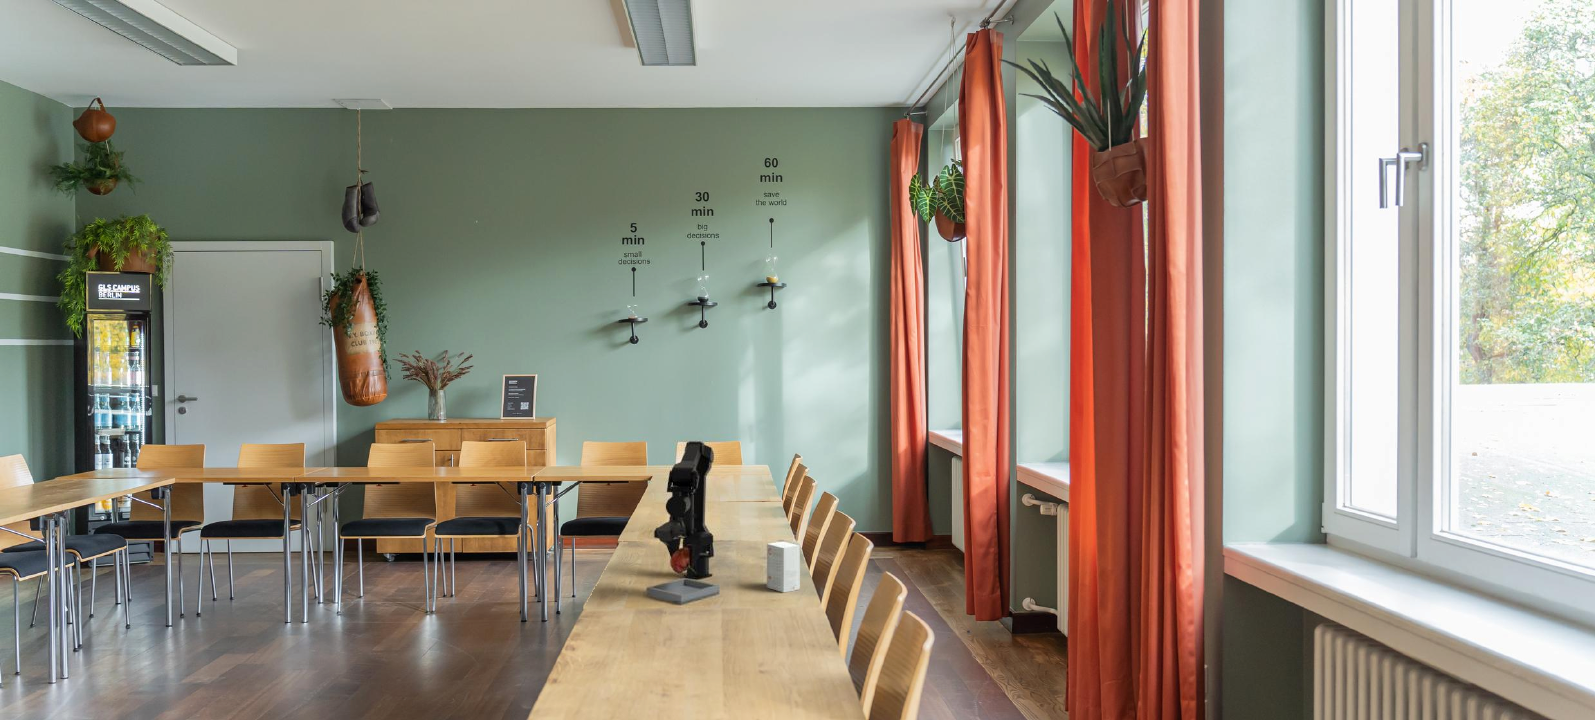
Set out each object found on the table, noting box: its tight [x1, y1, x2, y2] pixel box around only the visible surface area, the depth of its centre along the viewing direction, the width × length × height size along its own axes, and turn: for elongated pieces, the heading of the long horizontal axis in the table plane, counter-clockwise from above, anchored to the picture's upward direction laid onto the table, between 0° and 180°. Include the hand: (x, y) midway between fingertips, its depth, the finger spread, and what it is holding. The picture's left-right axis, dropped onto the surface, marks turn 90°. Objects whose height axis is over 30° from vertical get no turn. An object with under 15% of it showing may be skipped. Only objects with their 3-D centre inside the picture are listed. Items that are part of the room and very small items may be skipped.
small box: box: [766, 541, 801, 593], centre depth 275 cm, size 8×6×13 cm
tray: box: [646, 577, 720, 605], centre depth 267 cm, size 15×14×2 cm
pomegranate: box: [669, 546, 696, 574], centre depth 267 cm, size 7×7×10 cm
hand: (683, 565), depth 267 cm, fingers closed on pomegranate, 7 cm apart
